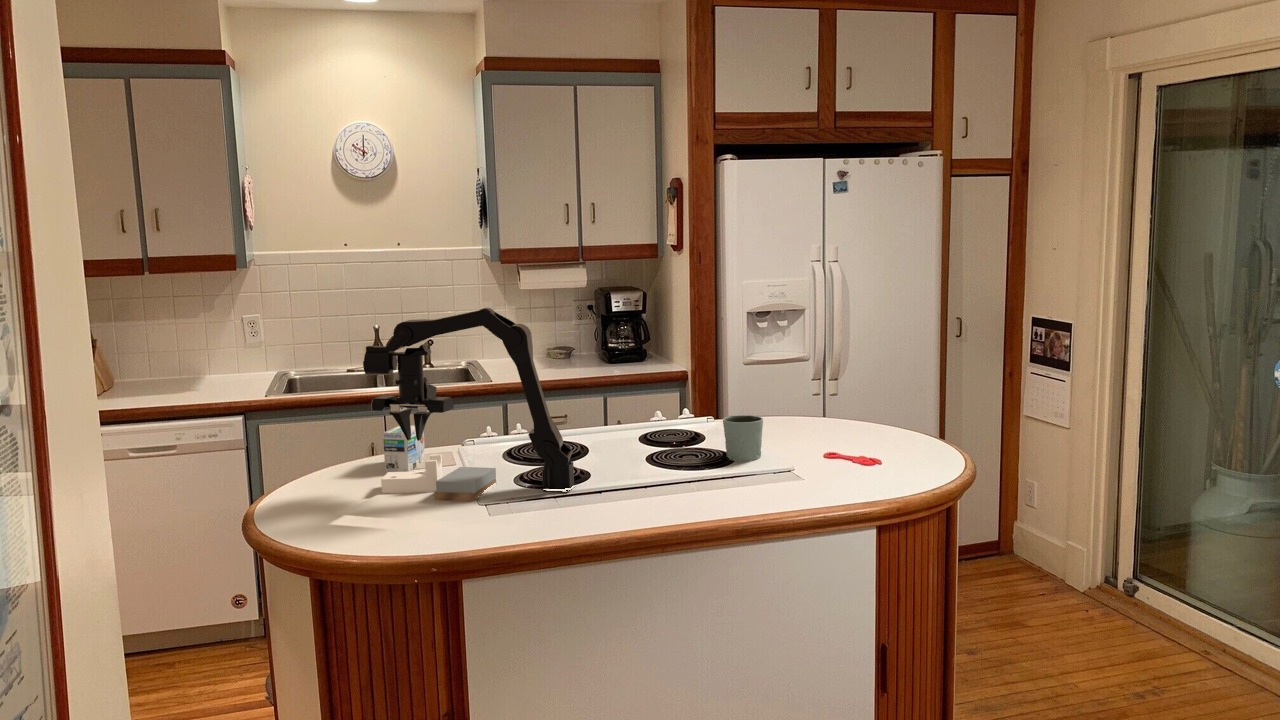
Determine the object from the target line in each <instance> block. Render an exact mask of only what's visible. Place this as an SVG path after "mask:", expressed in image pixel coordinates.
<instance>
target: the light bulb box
mask: <svg viewBox="0 0 1280 720" xmlns="http://www.w3.org/2000/svg"><path fill="white" fill-rule="evenodd" d="M410 426H411V439H410V440H407V439H406V437H405V435H404V433H403V431H402V429H401V427H400V426H399V425H398V426H395V427H393V428H391V429H389V430H387V431H384V432H382V436H383V437H382V440H383V453H384V472H385V473H388V472H413V471H414V469H416V468H417V467H419V466H420V465H421V464H422V463H421V462H423V461H424V460H425V461H426V453H425V452H426V451H425V450H426V449H425V431H423V434H422V437H421V440H419V441H417V437H416V432H415V425H411V424H410ZM425 461H424V462H425ZM424 462H423V463H424ZM420 463H421V464H420ZM419 464H420V465H419ZM418 465H419V466H418Z"/></svg>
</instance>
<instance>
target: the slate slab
mask: <svg viewBox="0 0 1280 720" xmlns="http://www.w3.org/2000/svg"><path fill="white" fill-rule="evenodd" d="M494 479H496V480H497V469H496V467H478V466H477V467H473V466H460V467H458V468H456V469H454V470H453V471H451V472H449V473H448V474H446V475H444V476H442V478H441V479H439V480H437V481H436V491H437V492H449V493H475V492H477V491H478V490H480V489H481V488H483V487H484V486H485V485H487V484H488V483H490V482H491V481H493V480H494Z"/></svg>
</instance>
